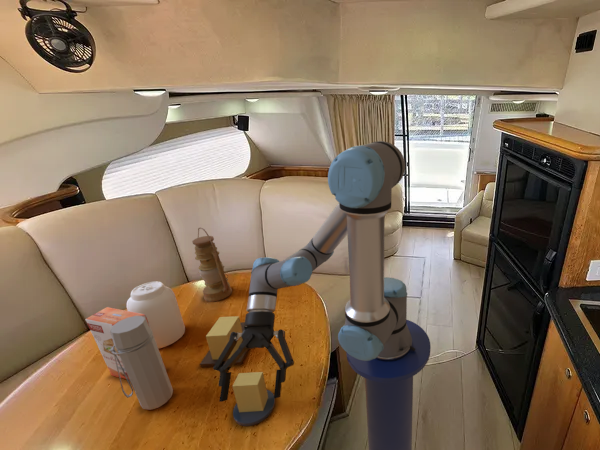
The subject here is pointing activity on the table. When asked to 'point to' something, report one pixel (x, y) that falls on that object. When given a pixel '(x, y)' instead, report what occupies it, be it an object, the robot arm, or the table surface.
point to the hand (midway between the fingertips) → (250, 399)
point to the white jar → (158, 311)
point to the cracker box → (109, 335)
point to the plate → (254, 413)
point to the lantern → (211, 269)
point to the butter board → (209, 362)
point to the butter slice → (250, 392)
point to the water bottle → (141, 362)
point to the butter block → (223, 335)
